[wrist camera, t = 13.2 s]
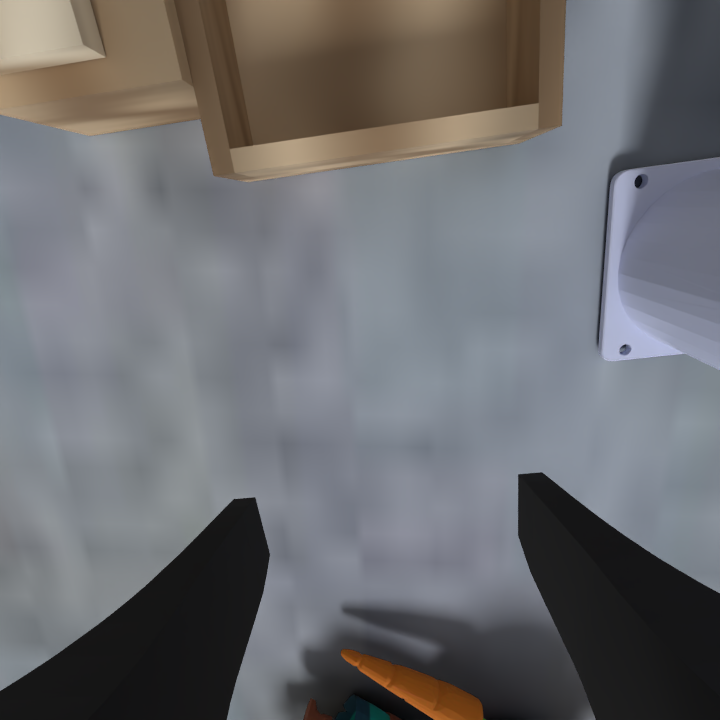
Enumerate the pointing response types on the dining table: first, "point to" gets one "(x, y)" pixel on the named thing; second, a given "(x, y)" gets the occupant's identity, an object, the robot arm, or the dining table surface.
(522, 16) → the open wooden box
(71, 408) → the dining table surface
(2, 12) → the beige piece
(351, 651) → the toy
